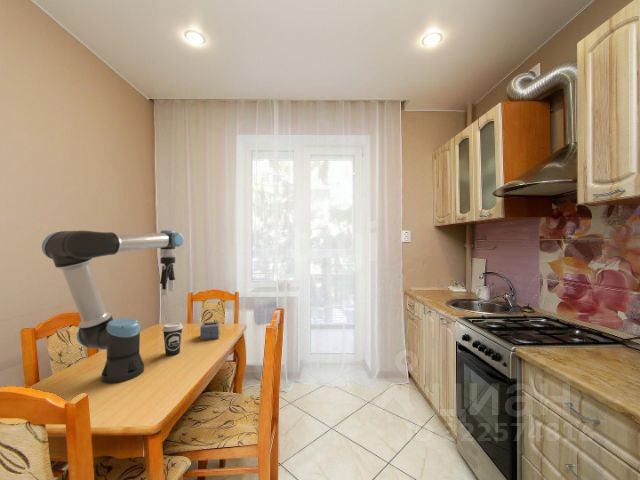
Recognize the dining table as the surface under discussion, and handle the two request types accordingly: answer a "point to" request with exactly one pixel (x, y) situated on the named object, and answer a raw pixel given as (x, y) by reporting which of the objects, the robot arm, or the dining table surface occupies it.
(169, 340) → the coffee cup
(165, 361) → the dining table surface
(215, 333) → the coin box
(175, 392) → the dining table surface
